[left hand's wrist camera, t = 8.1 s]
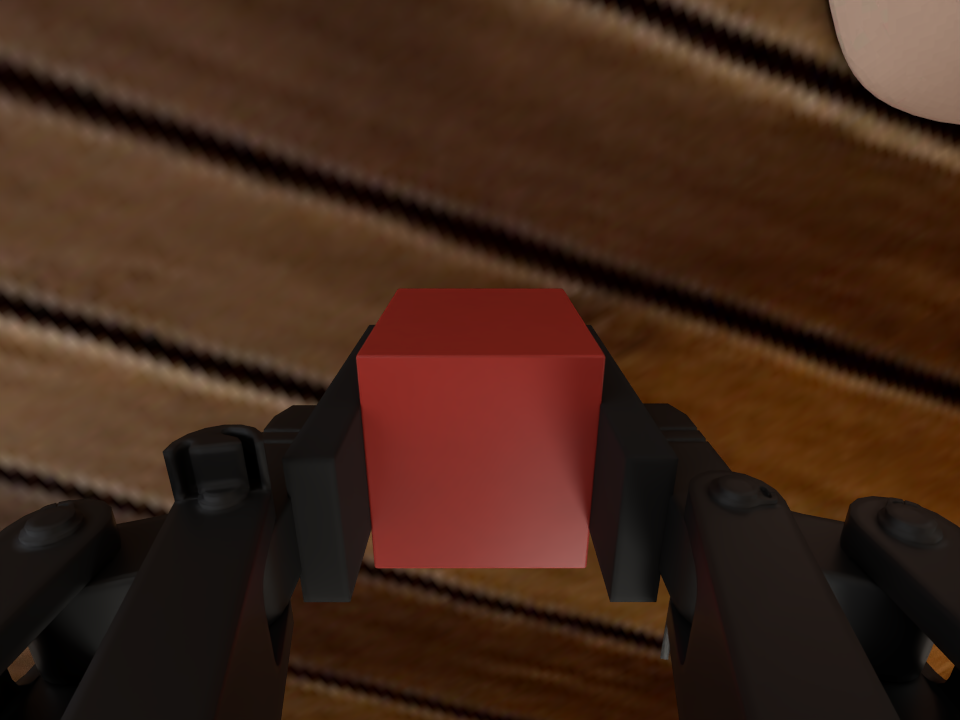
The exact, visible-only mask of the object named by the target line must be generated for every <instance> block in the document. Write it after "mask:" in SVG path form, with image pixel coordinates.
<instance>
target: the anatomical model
mask: <svg viewBox="0 0 960 720" xmlns="http://www.w3.org/2000/svg"><path fill="white" fill-rule="evenodd" d="M829 4H830V9H831V13H832V17H833V22H834V26H835V30H836V35H837V38H838V41H839V43H840V46H841V49H842V52H843V55H844V57H845V59H846V61H847V64H848V66H849V67H850V69H851V71H852V72H853V74H854V75H855V77H856V78H857V79H858V80H859V82H860V83H861V84H862V85H863V86H864V87H865V88H866V89H867V90H868V91H870V92H871V93H872V94H873V95H874V96H876V97H877V98H878V99H880V100H882V101H883V102H885V103H887V104H889V105H890V106H892V107H895V108H897V109H900V110H902V111H905V112H907V113H910V114H912V115H915V116H919V117H923V118H927V119H931V120H935V121H939V122H947V123H954V124H960V0H829Z"/></svg>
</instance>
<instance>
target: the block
mask: <svg viewBox="0 0 960 720" xmlns="http://www.w3.org/2000/svg"><path fill="white" fill-rule="evenodd" d="M356 363H357V374H358V385H359V396H360V405H361V417H362V428H363V439H364V450H365V461H366V472H367V483H368V494H369V506H370V517H371V530H372V541H373V552H374V563H375V567H376V568H586V565H587V554H588V543H589V532H590V531H589V524H590V513H591V502H592V491H593V480H594V469H595V458H596V447H597V436H598V425H599V414H600V404H601V401H602V390H603V379H604V368H605V355H604V353H603V352H602V350H601V348H600V347H599V345H598V344H597V342H596V341H595V339H594V337H593V336H592V334H591V333H590V331H589V330H588V328H587V326H586V325H585V323H584V322H583V320H582V318H581V317H580V315H579V314H578V312H577V311H576V309H575V307H574V306H573V304H572V303H571V301H570V299H569V298H568V296H567V295H566V293H565V292H564V290H563V289H398V290H397V291H396V293H395V295H394V296H393V298H392V300H391V301H390V303H389V304H388V306H387V308H386V309H385V311H384V312H383V314H382V316H381V317H380V319H379V320H378V322H377V324H376V325H375V327H374V328H373V330H372V332H371V333H370V335H369V336H368V338H367V340H366V341H365V343H364V344H363V346H362V348H361V349H360V351H359V352H358V354H357V356H356Z"/></svg>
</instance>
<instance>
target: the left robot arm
mask: <svg viewBox="0 0 960 720" xmlns="http://www.w3.org/2000/svg"><path fill="white" fill-rule="evenodd" d="M586 326H587V328H588V330H589V331H590V333H591V334H592V336H593V337H594V339H595V341H596V342H597V344H598V345H599V347H600V348H601V350H602V352H603V353H604V355H605V368H604V379H603V390H602V401H601V404H600V414H599V425H598V436H597V447H596V458H595V469H594V480H593V491H592V502H591V513H590V524H589V531H590V534H591V537H592V541H593V544H594V548H595V551H596V555H597V558H598V561H599V565H600V568H601V572H602V575H603V578H604V582H605V585H606V589H607V592H608V596H609V599H610V602H656V601H657V594H658V588H659V582H660V575H661V576H662V578H663V581H664V583H665V585H666V588H667V590H668V592H669V594H670V601H669V607H668V613H667V619H666V625H665V631H664V637H663V643H662V650H661V657H660V658H662V659H667V660H668V655H669V649H670V653H671V661H672V668H673V676H674V684H675V691H676V699H677V706H678V714H679V720H960V528H959V527H958V526H957V525H955V524H953V523H952V522H950V521H949V520H947V519H945V518H944V517H942V516H940V515H939V514H937V513H935V512H933V511H930V510H928V509H925V508H923V507H921V506H920V505H918V504H916V503H913V502H909V501H906V500H905V501H903V500H902V499H897V498H886V497H876V496H871V497H864V498H858V499H857V500H855V501H854V502H853V503H851V504H850V506H849V509H848V513H847V516H846V519H845V522H842V521H837V520H832V519H826V518H821V517H816V516H811V515H805V514H801V513H797V512H793V511H790V509H789V507H788V505H787V503H786V501H785V500H784V499H783V498H782V496H781V495H780V494H779V493H778V492H777V490H775V489H774V488H772V487H771V486H769V485H767V484H766V483H764V482H763V481H761V480H758V479H756V478H753V477H751V476H748V475H746V474H741V473H737V472H732V471H731V470H730V469H729V467H728V466H727V465H726V464H725V462H724V461H723V460H722V459H721V457H720V456H719V455H718V454H717V452H716V451H715V450H714V449H713V447H712V446H711V445H710V444H709V442H706V439H705V437H704V436H703V435H702V434H701V432H700V431H699V430H697V427H696V426H695V425H694V424H693V422H692V421H691V420H690V419H689V417H688V416H687V415H686V414H684V413H683V412H681V411H679V410H678V409H676V408H674V407H673V406H671V405H669V404H643V403H642V402H641V400H640V399H639V397H638V396H637V394H636V393H635V391H634V390H633V388H632V387H631V385H630V384H629V382H628V381H627V379H626V378H625V376H624V375H623V373H622V372H621V370H620V368H619V367H618V365H617V364H616V362H615V361H614V359H613V358H612V356H611V355H610V353H609V352H608V350H607V349H606V347H605V346H604V344H603V343H602V341H601V340H600V338H599V337H598V335H597V333H596V332H595V330H594V329H593V327H592V326H591V325H586ZM374 327H375V325H369V326H368V328H367V330H366V331H365V333H364V334H363V336H362V337H361V339H360V340H359V342H358V343H357V345H356V346H355V348H354V349H353V351H352V352H351V354H350V355H349V357H348V358H347V360H346V361H345V363H344V364H343V366H342V368H341V369H340V371H339V372H338V374H337V375H336V377H335V378H334V380H333V381H332V383H331V384H330V386H329V387H328V389H327V390H326V392H325V393H324V395H323V396H322V398H321V399H320V401H319V403H318V404H317V405H293V406H291V407H289V408H288V409H286V410H284V411H283V412H281V413H279V414H278V415H276V416H274V418H273V419H272V420H271V421H270V423H269V424H268V425H267V426H266V428H265V429H264V432H262V433H261V432H260V431H259V430H257V429H256V428H254V427H250V426H245V425H220V426H215V427H209V428H204V429H201V430H198V431H195V432H192V433H189V434H187V435H185V436H183V437H181V438H179V439H178V440H176V441H174V442H172V443H171V444H170V445H169V446H168V447H167V448H166V449H165V450H164V451H163V455H164V459H165V463H166V467H167V471H168V475H169V479H170V483H171V487H172V491H173V495H174V499H175V502H174V504H173V506H172V508H171V510H170V512H169V514H165V515H161V516H157V517H152V518H147V519H142V520H136V521H131V522H126V523H121V524H116V521H115V518H114V514H113V511H112V508H111V507H110V506H109V505H108V504H107V503H105V502H104V501H100V500H94V499H80V500H67V501H62V502H59V503H58V504H56V503H54V504H51V505H47V506H45V507H43V508H41V509H40V510H37V511H35V512H33V513H30V514H28V515H25V516H24V517H22V518H20V519H19V520H17V521H16V522H14V523H12V524H11V525H9V526H7V527H6V528H5V529H3V530H2V531H1V532H0V720H281V715H282V708H283V700H284V692H285V685H286V677H287V670H288V662H289V655H290V647H291V639H292V632H293V624H294V621H293V614H292V607H291V601H290V598H291V596H292V594H293V591H294V589H295V587H296V584H297V582H298V580H299V577H300V579H301V586H302V592H303V598H304V602H350V600H351V597H352V593H353V590H354V587H355V583H356V580H357V576H358V573H359V569H360V566H361V563H362V559H363V556H364V552H365V549H366V546H367V542H368V539H369V535H370V532H371V517H370V506H369V494H368V483H367V472H366V461H365V450H364V439H363V428H362V417H361V405H360V396H359V385H358V374H357V363H356V356H357V354H358V352H359V351H360V349H361V348H362V346H363V344H364V343H365V341H366V340H367V338H368V336H369V335H370V333H371V332H372V330H373V328H374ZM933 644H935V645H936V646H937V647H938V648H939V649H940V650H941V651H942V652H943V653H944V655H945V656H946V657H947V658H948V659H949V660H950V661H951V662H952V663H953V664H954V665H955V666H954V668H953V671H952V673H951V675H950V677H949V678H948V679H947V680H944V679H943V678H942V677H941V676H940V675H939V674H937V673H936V672H935V671H934V670H933V669H932V667H931V666H930V665H929V664H928V663H927V662H926V660H927V658H928V656H929V653H930V651H931V648H932V646H933ZM27 647H29V650H30V652H31V654H32V657H33V659H34V662H35V665H34V666H33V667H32V668H31V669H30V670H29V671H28V672H27V673H26V674H25V675H24V676H23V677H22V678H20V679H19V680H18V681H17V682H14V681H13V680H12V678H11V676H10V674H9V672H8V669H7V668H8V667H9V666H10V665H11V663H12V662H13V661H14V660H15V659H16V658H17V657H18V656H19V655H20V654H21V653H22V652H23V651H24V650H25V649H26V648H27Z"/></svg>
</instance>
